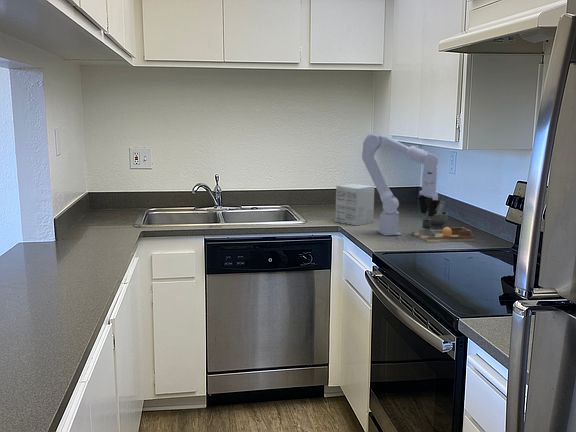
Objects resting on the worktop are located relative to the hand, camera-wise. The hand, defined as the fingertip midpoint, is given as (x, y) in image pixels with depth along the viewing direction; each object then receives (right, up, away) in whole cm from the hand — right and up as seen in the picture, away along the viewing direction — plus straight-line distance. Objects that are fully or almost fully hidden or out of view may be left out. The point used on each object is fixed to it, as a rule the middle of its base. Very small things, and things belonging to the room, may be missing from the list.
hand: (427, 214), depth 245 cm
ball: (+7, -7, -4) cm, 11 cm away
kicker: (0, -9, -1) cm, 9 cm away
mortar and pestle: (+10, -6, +21) cm, 24 cm away
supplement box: (-28, -4, +30) cm, 41 cm away
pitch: (+6, -10, -1) cm, 12 cm away
